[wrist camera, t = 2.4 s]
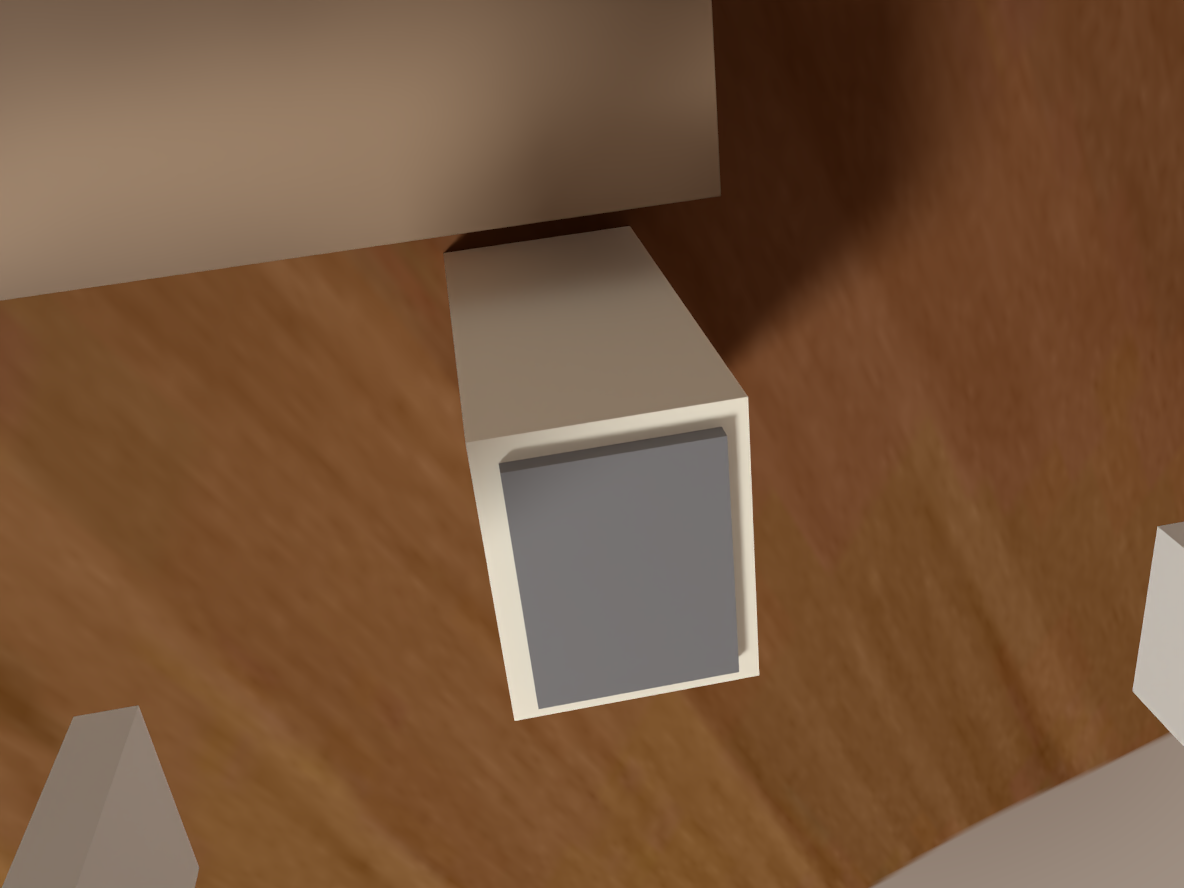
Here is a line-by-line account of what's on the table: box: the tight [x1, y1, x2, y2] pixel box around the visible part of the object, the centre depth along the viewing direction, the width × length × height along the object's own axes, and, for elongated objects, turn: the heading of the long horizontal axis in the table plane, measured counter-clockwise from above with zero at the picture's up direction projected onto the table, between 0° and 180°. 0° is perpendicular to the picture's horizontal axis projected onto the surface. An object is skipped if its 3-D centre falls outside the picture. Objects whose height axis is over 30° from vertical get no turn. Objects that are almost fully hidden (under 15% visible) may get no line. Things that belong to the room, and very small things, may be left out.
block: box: [443, 226, 759, 721], centre depth 20 cm, size 5×4×9 cm
